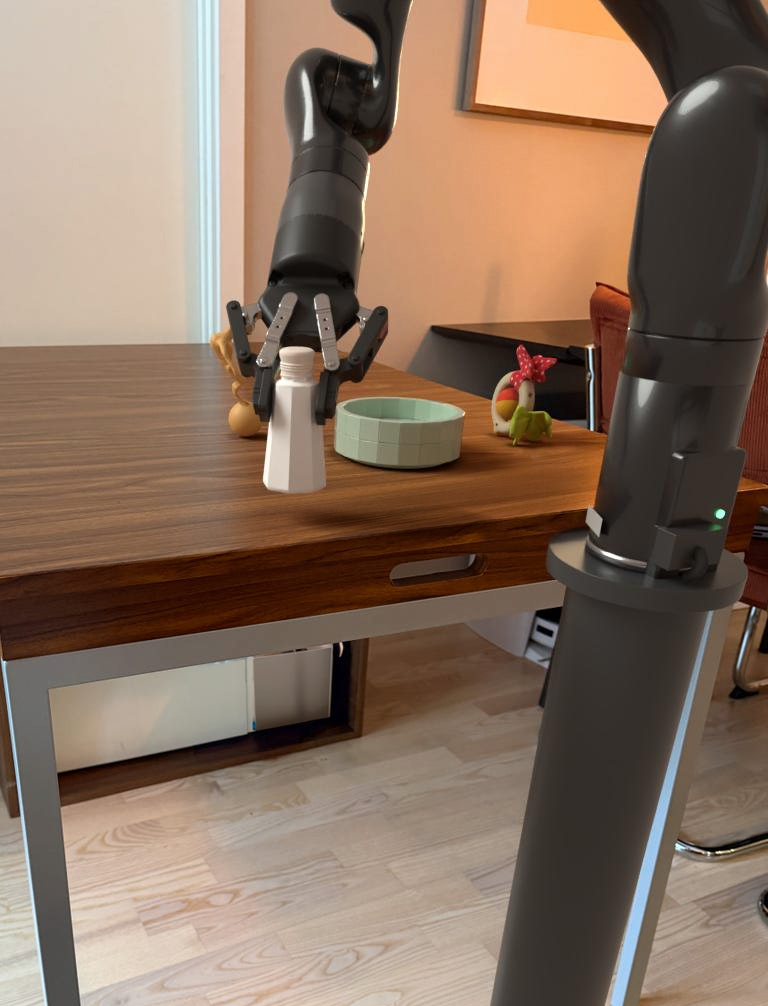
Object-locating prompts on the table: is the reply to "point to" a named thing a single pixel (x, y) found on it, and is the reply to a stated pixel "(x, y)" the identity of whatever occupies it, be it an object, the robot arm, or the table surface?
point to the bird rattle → (521, 400)
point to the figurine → (235, 387)
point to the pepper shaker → (295, 428)
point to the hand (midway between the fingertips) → (292, 417)
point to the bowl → (398, 431)
